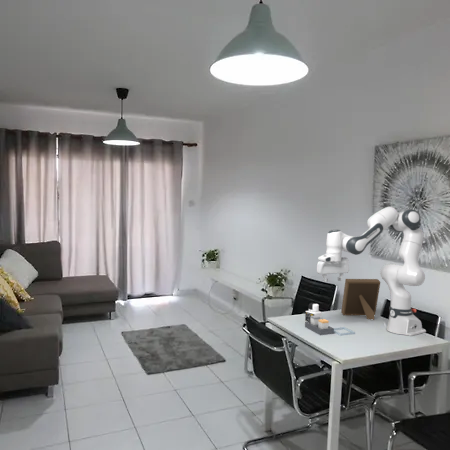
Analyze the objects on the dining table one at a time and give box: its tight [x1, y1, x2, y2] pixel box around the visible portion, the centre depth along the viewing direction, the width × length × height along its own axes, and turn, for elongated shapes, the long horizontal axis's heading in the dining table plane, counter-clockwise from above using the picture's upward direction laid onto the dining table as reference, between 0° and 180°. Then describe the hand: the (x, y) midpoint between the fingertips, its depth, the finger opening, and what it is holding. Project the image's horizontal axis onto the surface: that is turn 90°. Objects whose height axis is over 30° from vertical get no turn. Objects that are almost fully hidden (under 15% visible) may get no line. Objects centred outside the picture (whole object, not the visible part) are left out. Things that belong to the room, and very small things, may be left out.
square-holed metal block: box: [304, 321, 335, 336], centre depth 243 cm, size 16×9×4 cm, turn 21°
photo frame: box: [340, 278, 381, 321], centre depth 275 cm, size 15×22×25 cm
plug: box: [318, 318, 330, 329], centre depth 239 cm, size 4×4×7 cm
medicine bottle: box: [304, 302, 323, 322], centre depth 261 cm, size 7×7×12 cm
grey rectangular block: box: [311, 315, 322, 325], centre depth 246 cm, size 4×4×7 cm
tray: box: [333, 326, 356, 337], centre depth 240 cm, size 10×10×2 cm
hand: (332, 281), depth 245 cm, fingers open, 8 cm apart
